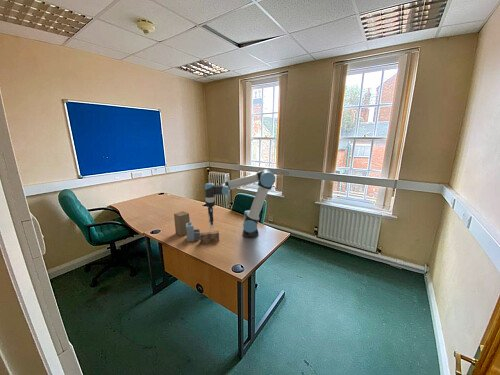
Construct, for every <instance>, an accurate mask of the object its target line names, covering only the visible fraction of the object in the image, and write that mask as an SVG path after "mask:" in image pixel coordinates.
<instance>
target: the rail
mask: <svg viewBox="0 0 500 375" xmlns="http://www.w3.org/2000/svg"><path fill="white" fill-rule="evenodd" d="M199 241H200V244H207V243H208V244H209V243H215V242H220V232H219V231H218V230H216V231H214V230H213V231H209V232H208V231H206V232H200V240H199Z"/></svg>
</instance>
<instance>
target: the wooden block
mask: <svg viewBox="0 0 500 375" xmlns="http://www.w3.org/2000/svg"><path fill="white" fill-rule="evenodd" d="M173 219H174V227H175V234H176V235H178V236H180V237H184V236H187V231H186V223H188V222H191V221H190V213H189V212H187V211H184V210H183V211H179V212H175V213H173Z"/></svg>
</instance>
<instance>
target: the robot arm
mask: <svg viewBox="0 0 500 375" xmlns="http://www.w3.org/2000/svg"><path fill="white" fill-rule="evenodd" d="M275 182H276V176H275V173H274V172H273V171H272V170H271V169H268V168H265V169H262V170H260V171H257V172H255V173H253V174H250V175H246V176H243V177H238V178H235V179H231V180H228V181H222V182H221V183H220V184H219V185H215V184H214V183H213V182H208V183H205V184H204V200H205V207H206V208H207V212H208V213H207V214H208V216H207V217H208V223H209V228H210V229H214V221H215V220H214V208H213V207H215V203H216V202H215V198H216V197H215V196H227V195H229V194H230V192H229V191H230V190H234V189H237V188H241V187H246V186H248V185H253V184H256V183H257V191H256V193H255V196H254V198H253V201H252V203H251V207H250V209H248V210H245V211H243V223H242V232H241V233H242V237H244V238H249V239H253V238H257V237H258V236H259V234H260V233H259V228H258V224H259V221H260V213H261V210H263V209H262V208H263V206H264V203H265V200H266V199H267V195H268V193H269V191H271V190H272V188H273V186H274V184H275Z"/></svg>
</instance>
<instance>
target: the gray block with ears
mask: <svg viewBox="0 0 500 375" xmlns="http://www.w3.org/2000/svg"><path fill="white" fill-rule="evenodd" d="M194 226H195V225H194V222H193V221H192V222H191V221H190V222H188V223H186V231H187V234H186V241H187V242H194V241H200V233H201V232H200V230H201V229H200V228H194Z"/></svg>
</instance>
